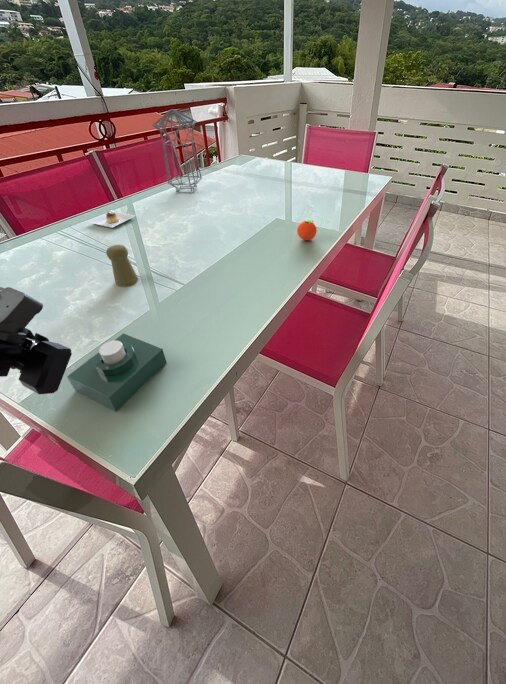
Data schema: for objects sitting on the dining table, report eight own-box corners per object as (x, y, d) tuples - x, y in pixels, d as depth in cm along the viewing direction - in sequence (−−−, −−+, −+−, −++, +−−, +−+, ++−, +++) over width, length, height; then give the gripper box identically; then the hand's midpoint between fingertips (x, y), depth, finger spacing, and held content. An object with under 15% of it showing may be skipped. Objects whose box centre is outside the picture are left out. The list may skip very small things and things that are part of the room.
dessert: (88, 225, 126) (84, 213, 123) (113, 213, 135) (109, 202, 133) (113, 230, 123) (109, 218, 120) (136, 218, 132) (133, 206, 129)
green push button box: (116, 411, 60) (105, 390, 57) (75, 390, 64) (62, 369, 60) (167, 362, 70) (160, 342, 66) (128, 347, 74) (120, 326, 70)
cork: (125, 288, 92) (113, 254, 86) (110, 283, 94) (97, 249, 88) (142, 278, 96) (132, 244, 90) (128, 273, 98) (116, 240, 92)
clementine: (305, 232, 123) (305, 214, 119) (321, 237, 120) (322, 218, 116) (293, 240, 117) (293, 222, 113) (309, 245, 114) (310, 226, 110)
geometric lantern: (165, 195, 154) (146, 111, 134) (177, 184, 167) (161, 106, 147) (198, 196, 154) (185, 112, 134) (207, 185, 167) (196, 107, 147)
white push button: (113, 367, 61) (109, 358, 60) (98, 360, 63) (93, 351, 61) (130, 353, 64) (126, 344, 63) (115, 347, 66) (111, 337, 64)
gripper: (23, 306, 38) (128, 321, 52) (-65, 269, 44) (50, 292, 59) (-17, 401, 36) (102, 390, 51) (-102, 349, 43) (25, 352, 57)
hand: (68, 352), depth 55 cm, fingers closed
